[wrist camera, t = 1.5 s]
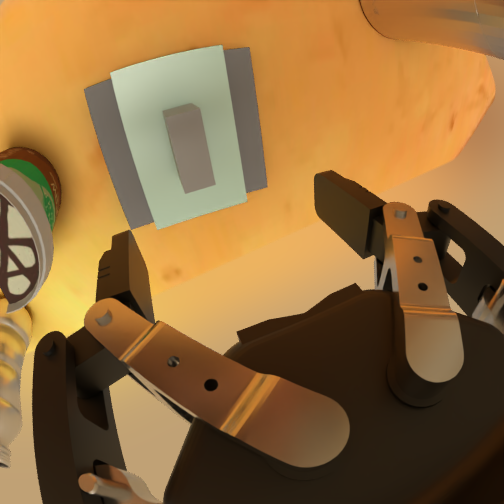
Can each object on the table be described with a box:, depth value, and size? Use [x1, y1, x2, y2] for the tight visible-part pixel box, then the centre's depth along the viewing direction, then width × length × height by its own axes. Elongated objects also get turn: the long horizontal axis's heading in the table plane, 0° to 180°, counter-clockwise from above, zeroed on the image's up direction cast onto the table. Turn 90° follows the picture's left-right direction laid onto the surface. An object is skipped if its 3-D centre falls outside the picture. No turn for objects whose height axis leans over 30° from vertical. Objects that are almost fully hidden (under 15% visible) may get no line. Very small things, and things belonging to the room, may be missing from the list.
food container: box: [0, 147, 61, 314], centre depth 17 cm, size 12×6×10 cm, turn 176°
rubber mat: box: [84, 47, 268, 230], centre depth 23 cm, size 14×14×1 cm
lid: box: [110, 45, 247, 230], centre depth 21 cm, size 9×15×5 cm, turn 8°
